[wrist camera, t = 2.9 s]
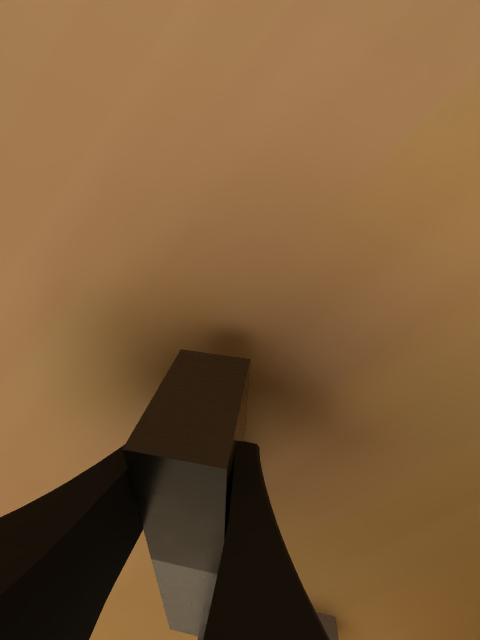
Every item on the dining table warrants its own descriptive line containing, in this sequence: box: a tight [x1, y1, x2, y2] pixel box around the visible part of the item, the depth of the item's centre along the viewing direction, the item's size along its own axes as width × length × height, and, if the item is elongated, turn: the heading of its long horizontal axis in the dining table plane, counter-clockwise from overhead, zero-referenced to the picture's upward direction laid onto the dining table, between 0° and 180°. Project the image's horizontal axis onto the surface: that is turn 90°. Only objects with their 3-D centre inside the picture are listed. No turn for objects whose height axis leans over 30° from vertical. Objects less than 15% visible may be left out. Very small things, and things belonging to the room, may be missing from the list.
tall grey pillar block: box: [122, 350, 250, 638], centre depth 12 cm, size 14×2×4 cm, turn 175°
